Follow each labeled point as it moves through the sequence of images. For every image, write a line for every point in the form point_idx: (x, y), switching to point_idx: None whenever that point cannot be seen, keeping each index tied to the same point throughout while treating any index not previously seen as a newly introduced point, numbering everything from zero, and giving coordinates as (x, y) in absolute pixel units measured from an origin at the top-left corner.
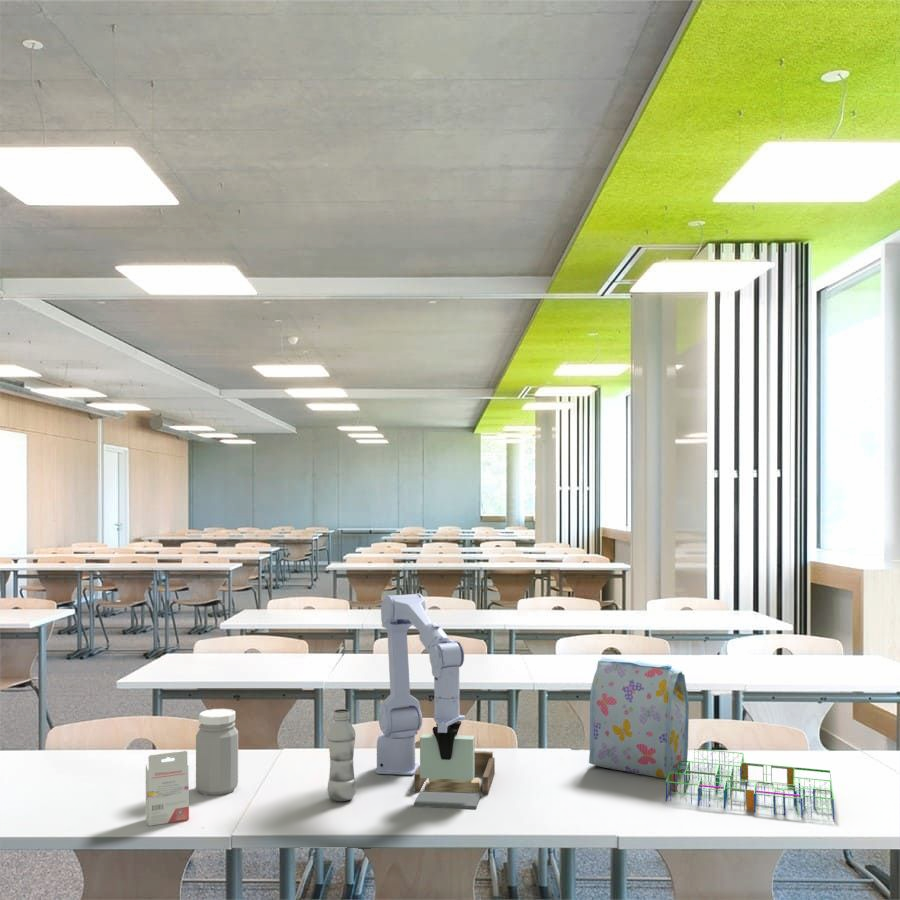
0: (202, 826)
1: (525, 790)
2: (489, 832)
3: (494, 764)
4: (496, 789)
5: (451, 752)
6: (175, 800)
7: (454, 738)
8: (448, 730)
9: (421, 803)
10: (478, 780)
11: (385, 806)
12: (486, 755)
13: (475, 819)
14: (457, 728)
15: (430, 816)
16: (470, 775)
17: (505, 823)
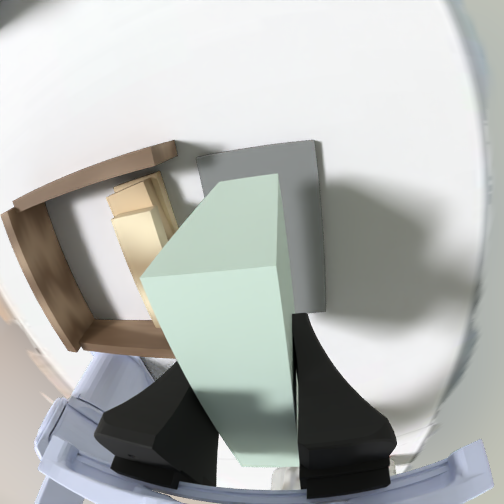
0: (401, 445)
1: (108, 59)
2: (464, 87)
3: (25, 194)
4: (122, 134)
5: (314, 334)
6: (390, 473)
7: (303, 391)
8: (387, 463)
9: (324, 295)
10: (127, 191)
11: (333, 351)
12: (15, 223)
13: (397, 128)
14: (172, 424)
15: (391, 252)
16: (279, 188)
17: (402, 44)
